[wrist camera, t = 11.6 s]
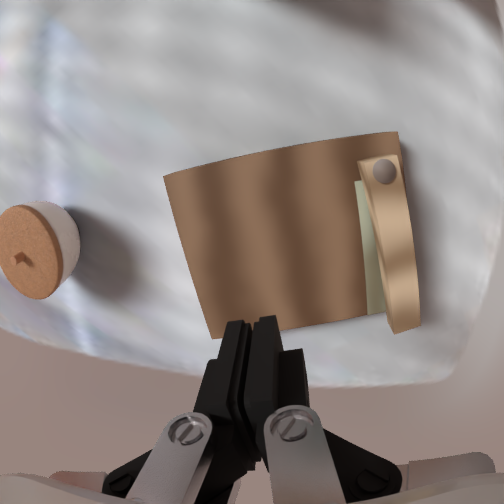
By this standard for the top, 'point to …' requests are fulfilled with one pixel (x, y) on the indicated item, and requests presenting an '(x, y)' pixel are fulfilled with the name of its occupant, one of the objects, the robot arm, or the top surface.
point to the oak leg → (392, 239)
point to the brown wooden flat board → (282, 233)
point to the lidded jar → (38, 247)
